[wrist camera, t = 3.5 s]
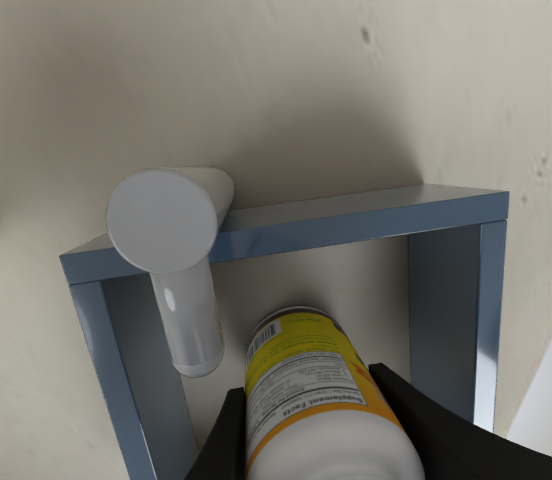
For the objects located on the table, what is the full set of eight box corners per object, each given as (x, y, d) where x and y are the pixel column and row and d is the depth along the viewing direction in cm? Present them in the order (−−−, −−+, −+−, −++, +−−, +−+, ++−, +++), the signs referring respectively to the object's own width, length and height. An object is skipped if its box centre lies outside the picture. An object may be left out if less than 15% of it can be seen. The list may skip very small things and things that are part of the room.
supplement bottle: (342, 386, 17) (467, 673, 8) (246, 393, 17) (247, 710, 7) (347, 298, 16) (507, 505, 6) (244, 302, 16) (240, 535, 6)
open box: (426, 449, 19) (574, 682, 11) (191, 496, 18) (142, 794, 10) (425, 140, 15) (691, 98, 6) (110, 180, 14) (-129, 203, 5)
